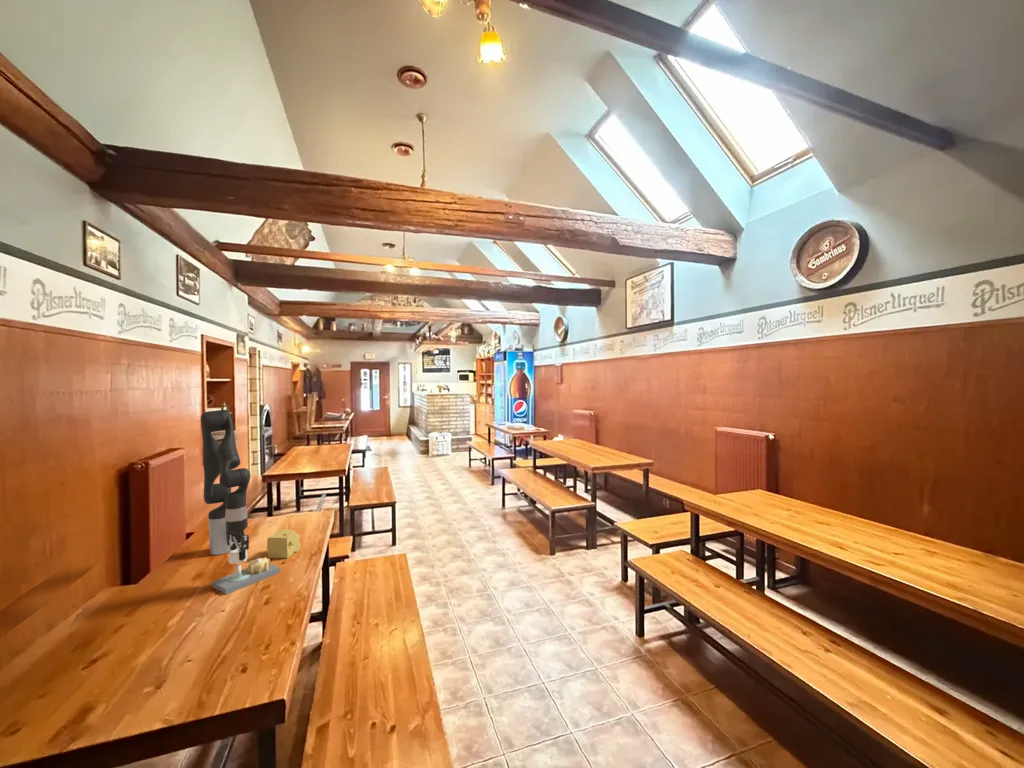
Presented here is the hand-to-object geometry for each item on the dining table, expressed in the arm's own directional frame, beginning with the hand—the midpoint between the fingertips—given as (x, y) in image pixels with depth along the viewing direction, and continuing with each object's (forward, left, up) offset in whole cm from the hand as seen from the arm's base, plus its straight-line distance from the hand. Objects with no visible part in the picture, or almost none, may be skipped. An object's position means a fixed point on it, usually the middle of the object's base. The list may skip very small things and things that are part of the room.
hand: (238, 557), depth 175 cm
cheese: (-11, +25, -11) cm, 29 cm away
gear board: (0, +3, -10) cm, 11 cm away
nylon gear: (0, 0, -1) cm, 1 cm away
